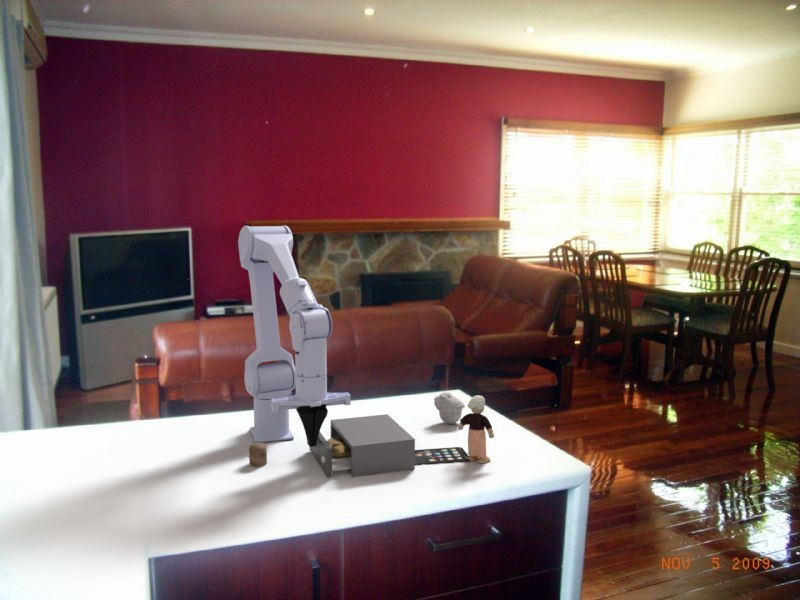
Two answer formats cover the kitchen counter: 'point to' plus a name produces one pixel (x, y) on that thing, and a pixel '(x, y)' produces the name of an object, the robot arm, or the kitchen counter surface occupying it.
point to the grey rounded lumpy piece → (449, 407)
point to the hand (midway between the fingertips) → (311, 444)
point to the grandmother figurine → (477, 430)
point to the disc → (339, 448)
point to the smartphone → (440, 456)
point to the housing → (375, 444)
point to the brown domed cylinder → (258, 454)
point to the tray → (328, 457)
